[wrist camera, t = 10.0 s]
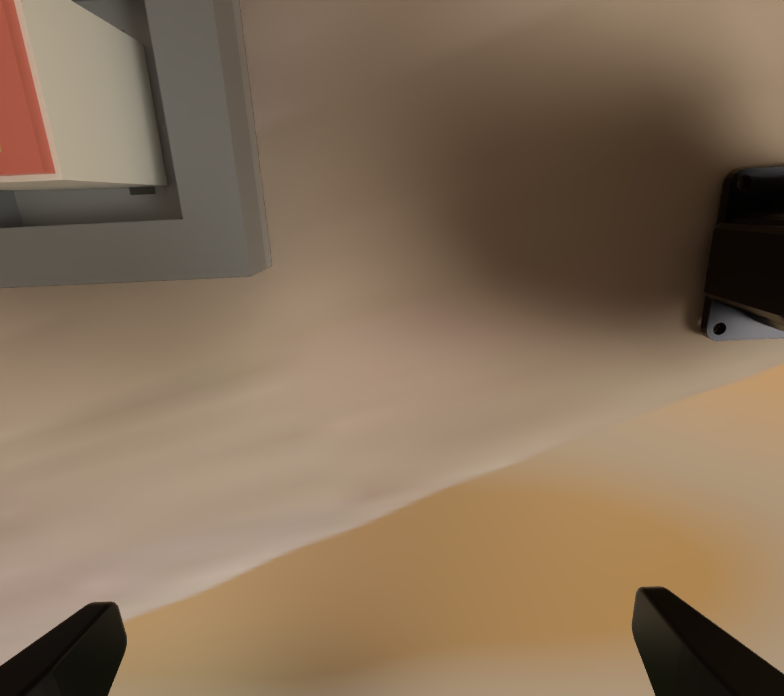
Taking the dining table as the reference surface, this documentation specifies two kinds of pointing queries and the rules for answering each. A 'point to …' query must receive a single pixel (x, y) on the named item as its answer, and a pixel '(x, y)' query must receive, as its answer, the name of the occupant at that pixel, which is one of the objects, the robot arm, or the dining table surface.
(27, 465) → the dining table surface
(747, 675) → the robot arm
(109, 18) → the socket plate
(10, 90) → the plug
